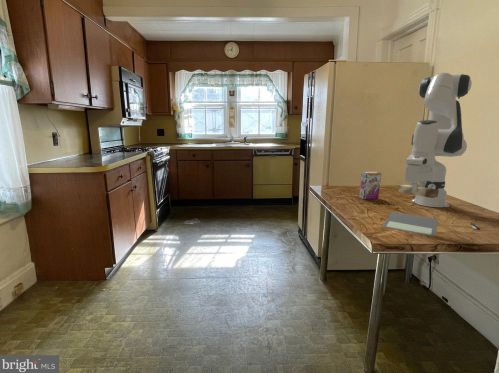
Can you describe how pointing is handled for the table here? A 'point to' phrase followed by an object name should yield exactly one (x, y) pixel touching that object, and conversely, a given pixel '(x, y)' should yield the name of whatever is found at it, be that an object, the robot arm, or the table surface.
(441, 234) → the table surface
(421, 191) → the beige rectangular block
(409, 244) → the table surface
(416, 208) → the table surface
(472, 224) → the chocolate bar
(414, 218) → the rubber mat
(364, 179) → the candy bar box
